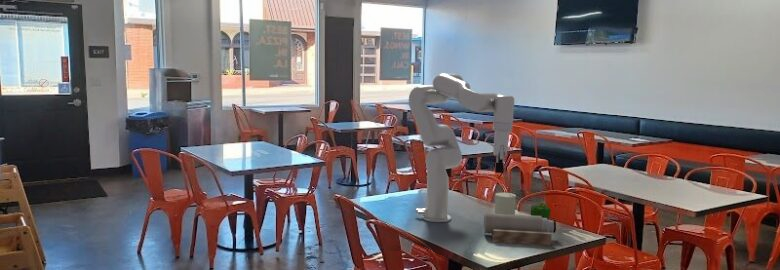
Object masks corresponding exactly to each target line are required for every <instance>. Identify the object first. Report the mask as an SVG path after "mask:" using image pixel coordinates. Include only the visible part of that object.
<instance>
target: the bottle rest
mask: <svg viewBox="0 0 780 270" xmlns="http://www.w3.org/2000/svg"><path fill="white" fill-rule="evenodd" d="M490 234H491V238H492V242H493V243H503V242H504V243H506V244H508V243H509V244H521V245H523V244H524V245H539V246H540V245H541V246H551V245H552V233H548V232H532V231H515V230H498V229H493V234H492V233H490Z"/></svg>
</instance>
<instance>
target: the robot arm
mask: <svg viewBox="0 0 780 270" xmlns="http://www.w3.org/2000/svg"><path fill="white" fill-rule="evenodd" d="M408 95H409V96H408V107H409V109H410V112H411V114H412V115H413V118H414V121H415V123H416V127H417V130H418V132H419V135H420V138H421V141H422V143H423V145H425V147H428V148H432V147H436V148H433V149H431V150H429V151H428V152H427V153H426V156H425V166H426V172H427V173H426V178H427V179H426V204H425V205H426V206H425V208H415V213H416V214H418V215H422V219H423V220H424V221H426V222H432V223H446V222H449V221H452V220H451V218H452V217H451V215H449V214H448V213H449V212H448V211H449V209H448V207H449V190H450V188H449V185H450V180H449V175H448V172H447V170H448V169H454V168H457V167H460V165H461V163H462V160H463V155H462V151H461V148H460V145H459V142H458V140H457V137H456V134H455V132H454V130H453V129H452V127H450V126H449V125H447V124H438V123H437V120H436V118H435V114H434V113H433V111H432V110H431V109H430V108H429V106H427V105H440V104H443V103H446V102H447V101H449V100H450V99H454V100H456V101H457V102H458V103H459V105H460V106H461V107H463V108H465V109H468V110H470V111H473V112H475V113H493V122H492V130H493V131H494V136H493V138H494V139H493V146H492V147H493V149H492V154H493V155H494V157H496V158H495V159H496V161H495V166H494V167H495V168H494V172H495V173H496V174H503V173H504V170H505V157H507V155H508V147H509V138H510V132H513V125H514V109H515V97H514V96H513V95H509V94H507V95H505V94H499V93H495V92H480V93H479V92H476V91H473V90H472V89H471V85H470V83H468V82H467V81H464V79H463V77H462V76H461V75H459V74H457V73H440V74H438V75H436V76H435V77H434V79H433V80H432V85H431V84H430V85H429V84H428V85H427V84H426V85H425V84H424V85H423V84H422V85H418V86H415V87H413V89H411V90H410V93H409V94H408ZM437 147H438V148H437Z"/></svg>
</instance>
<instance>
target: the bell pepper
mask: <svg viewBox="0 0 780 270" xmlns="http://www.w3.org/2000/svg"><path fill="white" fill-rule="evenodd" d="M546 204H547V203H546V202H542V201H541V202H540V204H536V205H534V204H533V205H531V207H530V210H529V211H530V215H531V216H541V217H542V218H547V219H548V220H550V216H551V208H550V207H548V205H546Z"/></svg>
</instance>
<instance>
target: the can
mask: <svg viewBox="0 0 780 270" xmlns="http://www.w3.org/2000/svg"><path fill="white" fill-rule="evenodd" d="M494 196H495V197H494V200H495V201H494V214H507V215H516V201H517V200H516V199H517V195H516V194H514V193H511V192H496V193H495V194H494Z"/></svg>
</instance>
